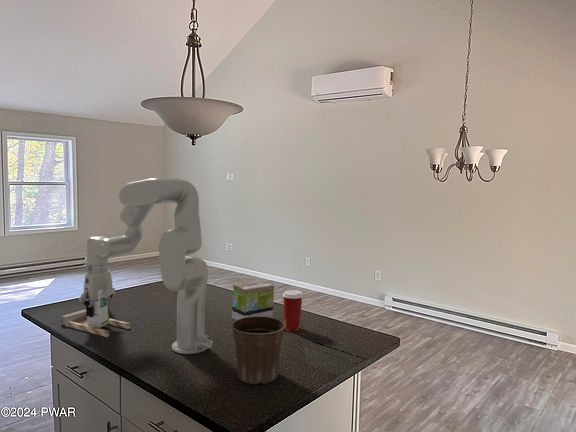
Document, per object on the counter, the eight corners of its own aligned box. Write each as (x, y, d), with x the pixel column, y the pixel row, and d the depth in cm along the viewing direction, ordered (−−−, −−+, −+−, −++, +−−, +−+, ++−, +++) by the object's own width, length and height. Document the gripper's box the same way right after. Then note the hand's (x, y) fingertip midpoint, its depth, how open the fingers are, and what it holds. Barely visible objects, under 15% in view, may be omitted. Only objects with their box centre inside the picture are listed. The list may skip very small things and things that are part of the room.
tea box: (245, 325, 175) (246, 289, 174) (231, 318, 182) (232, 284, 181) (273, 318, 185) (274, 284, 183) (259, 312, 192) (260, 280, 191)
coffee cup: (306, 329, 172) (307, 292, 171) (292, 333, 166) (293, 296, 165) (290, 323, 178) (292, 288, 177) (277, 328, 172) (278, 291, 171)
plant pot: (219, 380, 125) (220, 327, 124) (246, 360, 140) (247, 312, 139) (269, 393, 119) (270, 337, 118) (291, 371, 134) (293, 320, 132)
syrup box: (100, 328, 163) (99, 290, 161) (86, 326, 164) (86, 289, 163) (109, 323, 168) (109, 287, 167) (96, 321, 169) (95, 285, 168)
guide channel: (130, 328, 166) (130, 319, 166) (106, 337, 156) (106, 327, 156) (85, 317, 177) (85, 309, 177) (61, 324, 167) (61, 316, 167)
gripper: (84, 273, 155) (85, 321, 156) (122, 265, 170) (122, 309, 172) (71, 271, 158) (71, 318, 159) (109, 263, 174) (109, 306, 175)
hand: (97, 313), depth 166 cm, fingers closed on syrup box, 6 cm apart
